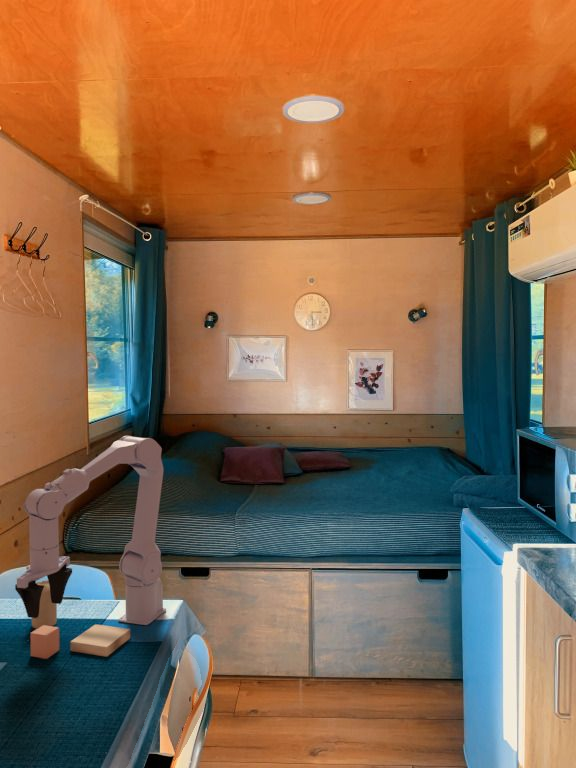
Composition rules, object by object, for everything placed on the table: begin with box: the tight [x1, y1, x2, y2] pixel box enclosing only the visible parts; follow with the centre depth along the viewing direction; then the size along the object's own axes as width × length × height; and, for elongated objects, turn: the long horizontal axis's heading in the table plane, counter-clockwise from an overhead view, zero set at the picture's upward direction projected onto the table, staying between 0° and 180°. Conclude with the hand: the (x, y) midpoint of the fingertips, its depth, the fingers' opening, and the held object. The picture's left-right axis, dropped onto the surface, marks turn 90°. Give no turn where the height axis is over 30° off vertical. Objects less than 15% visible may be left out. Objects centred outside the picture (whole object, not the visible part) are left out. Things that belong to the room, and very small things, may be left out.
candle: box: [31, 580, 58, 630], centre depth 143 cm, size 6×6×10 cm
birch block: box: [70, 623, 131, 657], centre depth 132 cm, size 9×9×2 cm
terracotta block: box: [30, 625, 60, 660], centre depth 128 cm, size 4×4×5 cm
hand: (45, 609), depth 128 cm, fingers open, 7 cm apart
